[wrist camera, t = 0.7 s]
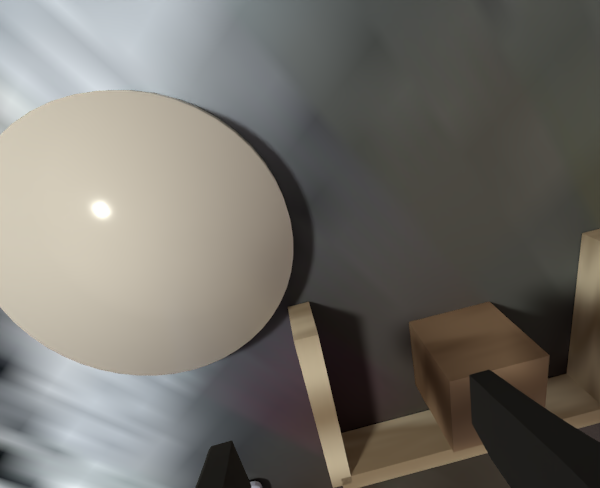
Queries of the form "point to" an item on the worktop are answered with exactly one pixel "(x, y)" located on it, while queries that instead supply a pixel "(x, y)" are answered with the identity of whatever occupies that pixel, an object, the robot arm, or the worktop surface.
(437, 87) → the worktop surface
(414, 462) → the wooden u-shaped frame
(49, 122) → the ceramic plate
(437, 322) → the walnut block
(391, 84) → the worktop surface
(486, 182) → the worktop surface
